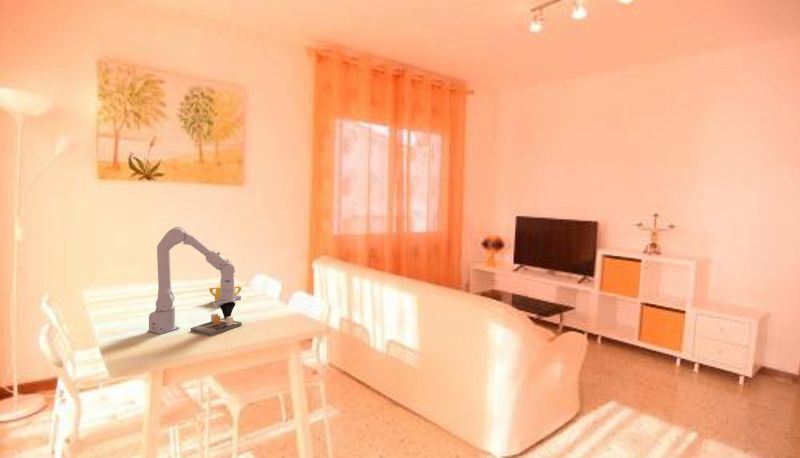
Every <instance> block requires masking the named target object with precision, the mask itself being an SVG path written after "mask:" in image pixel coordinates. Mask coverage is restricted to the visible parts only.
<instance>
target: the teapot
mask: <svg viewBox="0 0 800 458" xmlns="http://www.w3.org/2000/svg"><path fill="white" fill-rule="evenodd" d="M208 289H209V292H210V293H211V295H212V296H213V297H214V301H217V300H219V299H220V284H219V285H217V287H214V286H213V287H209V288H208ZM236 289H237V291H236ZM213 290H215V292H214V291H213ZM241 290H242V286H234V296H237V295H238V294H239V293H240V292H241Z"/></svg>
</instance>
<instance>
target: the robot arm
mask: <svg viewBox="0 0 800 458" xmlns="http://www.w3.org/2000/svg"><path fill="white" fill-rule="evenodd" d="M181 243H182V245H188V246H191V247H192V248H194V249H195V250H196V251H198V252H199V253H200V254H202V255H204V257H205V261H206V262H207V263H208V264H210V265H211V266H212V267H213V268H215V269H216V270H218V271H220V280H219V281H220V283H219V285H220V299H219V300H217V301H215V300H214V301H212V307H214V308H218V306H219V308H220V310H221V312H222V314H223V318H224V319H226V317H229V316H231V315H232V312H233V311H234V308H235V307H236V302H237V301H241V300H242V295H238V294H237V295H236V296H234V289H235V288H234V287H235V272H236V270H235V266H234V264H233V262H231V261H230V260H229V259H227V258H225V257H224V256H223V255H222V254H221V252H220V251H216V250H211V249H209V248H208V247H207V246H206V245H204V243H203V242H202V241H200V240H199V239H198V238H196V237H195V236H194V235H193V234H191V233H190V232H189V231H187V230H185V229H184V228H183V227H180V226H175V227H173V228H171V229H170V230H169V231H167V232H166V233H165V234H164V236H163V237H162V238H161V240H160V241H159V242H158V243H157V245H156V258H157V259H156V260H157V261H156V262H157V279H158V281H157V282H158V283H157V285H158V287H157V288H158V292H157V298H156V301H155V307H156V308H155V310H154V311H153V312H150V314H149V315H148V329H147V332H150V333H153V334H156V335H162V334H166V333H169V332H172V331H176V330H179V329H180V326H176V309H175V308H176V307H175V306H174V304H173V303H174V302H175V294H174V293H173V289H172V280H171V277H172V276H171V256H170V255H171V253H170V251H171V250H172V249H173V248H174V247H175V246H176V245H179V244H181ZM231 317H232V316H231Z"/></svg>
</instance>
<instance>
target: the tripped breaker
mask: <svg viewBox="0 0 800 458" xmlns="http://www.w3.org/2000/svg"><path fill="white" fill-rule="evenodd" d="M220 319H221V315H218V316H214V317H213V324H214V325H219V324H220Z"/></svg>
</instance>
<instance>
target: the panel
mask: <svg viewBox="0 0 800 458" xmlns="http://www.w3.org/2000/svg"><path fill="white" fill-rule="evenodd" d="M214 316H219V313H218V312H217V313H216V312H213V313H211V314H210V318H211V320H210V321H209V322H206V323H202V324H198V325H195V326H193V327H190V332H193V333H197V334H200V335H201V334H202V335H204V336H209V337H213V336H216V335H219V334H221V333H225V332H227V331H229V330H233V329H236V328H238V327H241V326H243V322H242V321H238V320H234V316H229V317H226V319H224V317H220V324H219V325H214V324H213V317H214Z"/></svg>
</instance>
